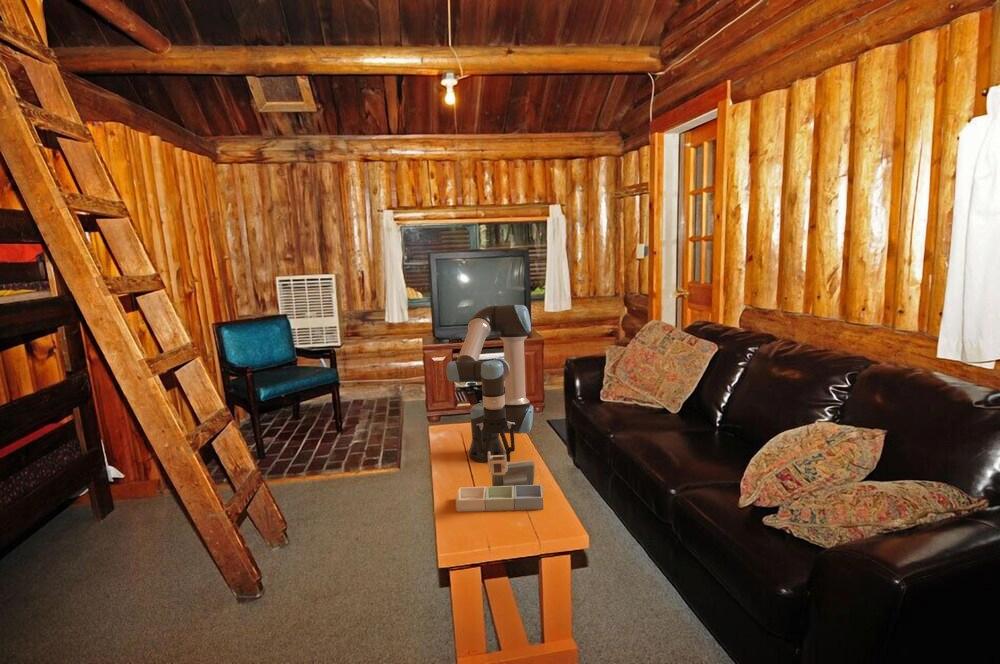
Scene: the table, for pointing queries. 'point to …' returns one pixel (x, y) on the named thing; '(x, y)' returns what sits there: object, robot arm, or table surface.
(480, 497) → the caddy cream
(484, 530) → the table surface
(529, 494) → the box
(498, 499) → the box
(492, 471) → the letter cube
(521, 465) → the digital clock
